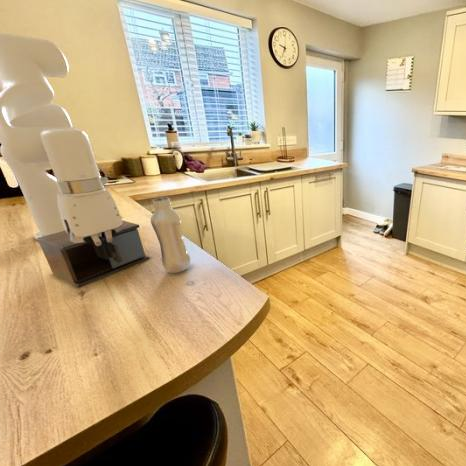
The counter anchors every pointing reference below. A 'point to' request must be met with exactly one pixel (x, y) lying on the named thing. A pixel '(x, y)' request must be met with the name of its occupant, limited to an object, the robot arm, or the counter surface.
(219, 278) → the counter surface
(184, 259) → the plastic bottle
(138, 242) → the sliding door
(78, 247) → the cupboard
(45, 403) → the counter surface
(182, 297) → the counter surface
